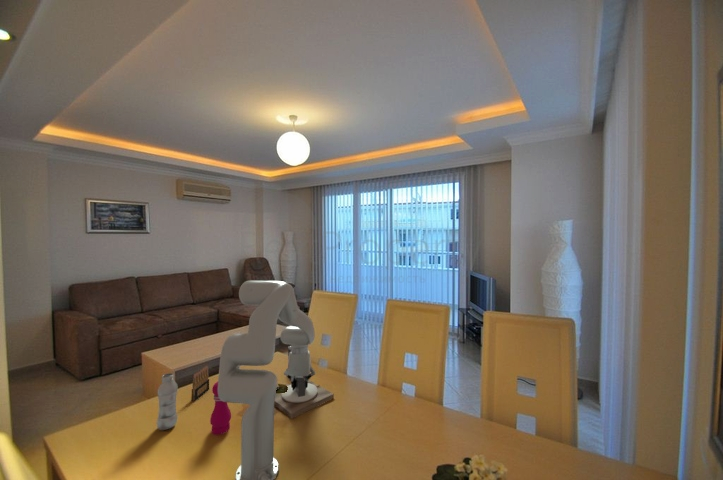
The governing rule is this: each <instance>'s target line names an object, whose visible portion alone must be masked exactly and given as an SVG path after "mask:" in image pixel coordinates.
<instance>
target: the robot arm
mask: <svg viewBox="0 0 723 480" xmlns="http://www.w3.org/2000/svg"><path fill="white" fill-rule="evenodd" d="M238 298H239V300H240V302H241V303H242V304H243V305H245V306H257V307H256V308H255V309H254V310H253V312H252V313H251V314H250V316H249V322H248V328H247V329H248V330H247V333H245V332H244V333H241V332H240V333H239V332H237V333H232V334H231V335H228V337H227V338H226V339H225V341H224V342H223V345H222V347H221V351H220V357H219V359H220V360H219V368H218V369H219V370H218V379H217V382H218V397H219V399H220V400H221V401H223V402H227V404H228V403H230V404H243V405H244V404H245V405H249V406H248V408H247V409H246V410H245V411H244V413H243V414H242V417H241V423H240V424H241V425H240V426H241V428H240V429H241V432H240V434H241V436H240V438H241V439H240V440H241V441H240V449H241V450H240V465H239V466H238V468H237V469H236V472H235V477H234V479H235V480H275V479H276V478H277V475H278V473H279V469H280V468H279V466H280V465H279V462H278V460H277V459H276V457H274V456H275V455H274V451H275V449H274V447H275V446H274V445H275V443H274V442H275V440H274V439H275V438H274V437H275V433H274V432H275V423H274V422H275V405H274V403H275V396H276V390H277V389H278V376H277V375H276V373H274V372H272V371H270V370H267V369H255V368H254V369H253V368H251V369H250V368H249V369H248V368H241V367H240V366H250V367H256V366H257V367H263V366H264V367H265V366H268V365H269V364H271V363H272V362H273V359H274V357H275V350H276V340H277V339H276V338H277V336H276V335H277V324H278V323H277V322H278V320H279V321H280V322H282V323H283V324H286V325H288V326H285V327H284V328H283V329H282V331H281V333H280V341H281V342H282V344H285V345H288V344H289V345H292V346H290V347H287V351H288V350H291V352H290V354H289V360H288V359H287V368H286V369H285V371H284V372H283V375H284V376H286V377H287V378H288V379H289V380H290V384H291V388H293V390H294V389H295V384H296V379H295V376H303V378H304V379H305V380H304V381H305V390H306V388H307V387H308V380H310V379H311V378H312V377H314V376H315V375H316V371H315V370H314V368H313V367H312V360H311V353H310V350H309V345H312V344H313V343H314V341H315V339H316V338H315V336H316V334H315V333H316V332H315V327H314V323H313V321H312V319H311V318H310V316H309V315H308V314H306V313H305V312H304V311H302V310H301V309H300V308H299V306H298V301H297V297H296V294H295V290H294V287H293V286H292V285H291V284H290V283H288V282H286V281H284V280H283V281H281V280H246V281H244V282H243V283H242V284H241V286H240V287H239V290H238Z"/></svg>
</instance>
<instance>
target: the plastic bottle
mask: <svg viewBox="0 0 723 480" xmlns="http://www.w3.org/2000/svg"><path fill="white" fill-rule="evenodd" d="M174 378H175V377H174V373H173V372H168V373H166V374H163V375H162V376H161V382H162V383H161V384H160V385H159V387H158V388H157V398H158V413H157V414H158V416H157V418H156V419H157V421H156V427H157V429H158V430H159V431H166V430H169V429H172V428H173V427H174V426H175V425H176V424H177V422H178V413H177V408H176V407H177V405H176V404H177V402H176V401H177V395H178V388H179V385H178V383H177V382H176V381H175V380H174Z"/></svg>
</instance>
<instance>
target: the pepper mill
mask: <svg viewBox="0 0 723 480" xmlns="http://www.w3.org/2000/svg"><path fill="white" fill-rule="evenodd" d="M211 391H212V392H211V393H212V394H213V400H214V408H213V410H212V413H211V415H210V421H209V422H210V425H211V434H212V435H215V436H216V435H217V436H218V435H219V436H220V435H223V434H225V433H227V432H229V430H230V427H231V425H230V421H231V419H232V413H231V409H230V407H229V406H228V402H223V401H221V400H220V399H219V397H218V381H216V382H215V383H214V384H213V386H212V390H211Z"/></svg>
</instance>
